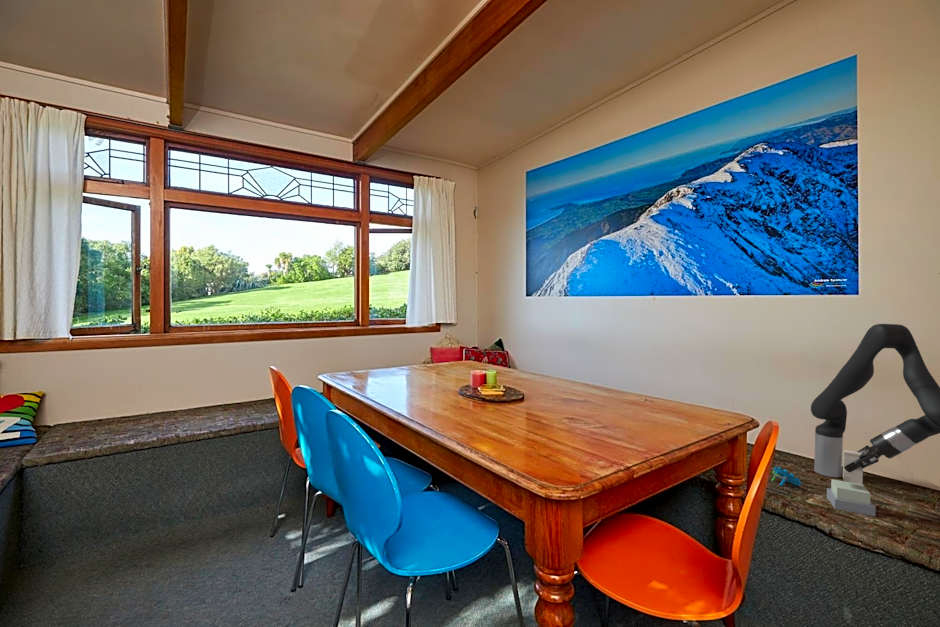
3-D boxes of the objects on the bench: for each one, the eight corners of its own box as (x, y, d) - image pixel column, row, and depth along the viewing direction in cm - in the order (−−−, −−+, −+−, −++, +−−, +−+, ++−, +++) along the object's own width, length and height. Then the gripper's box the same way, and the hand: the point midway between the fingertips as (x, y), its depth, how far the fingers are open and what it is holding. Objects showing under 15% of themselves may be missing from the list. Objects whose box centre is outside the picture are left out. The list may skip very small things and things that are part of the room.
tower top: (831, 489, 160) (831, 479, 160) (862, 495, 156) (862, 484, 156) (836, 498, 153) (837, 487, 152) (870, 504, 148) (870, 493, 148)
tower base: (826, 498, 162) (827, 487, 162) (864, 504, 156) (864, 494, 156) (834, 510, 152) (835, 499, 152) (875, 518, 147) (875, 506, 147)
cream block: (842, 476, 157) (843, 449, 157) (860, 479, 154) (861, 452, 154) (843, 480, 153) (844, 453, 153) (862, 484, 150) (863, 456, 150)
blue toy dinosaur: (808, 486, 167) (791, 468, 167) (800, 497, 166) (782, 480, 166) (783, 478, 178) (767, 462, 178) (776, 489, 177) (759, 472, 177)
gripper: (879, 428, 154) (835, 453, 162) (885, 438, 143) (837, 464, 151) (899, 446, 151) (853, 470, 159) (907, 457, 140) (857, 483, 148)
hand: (845, 467), depth 155 cm, fingers closed on cream block, 5 cm apart
